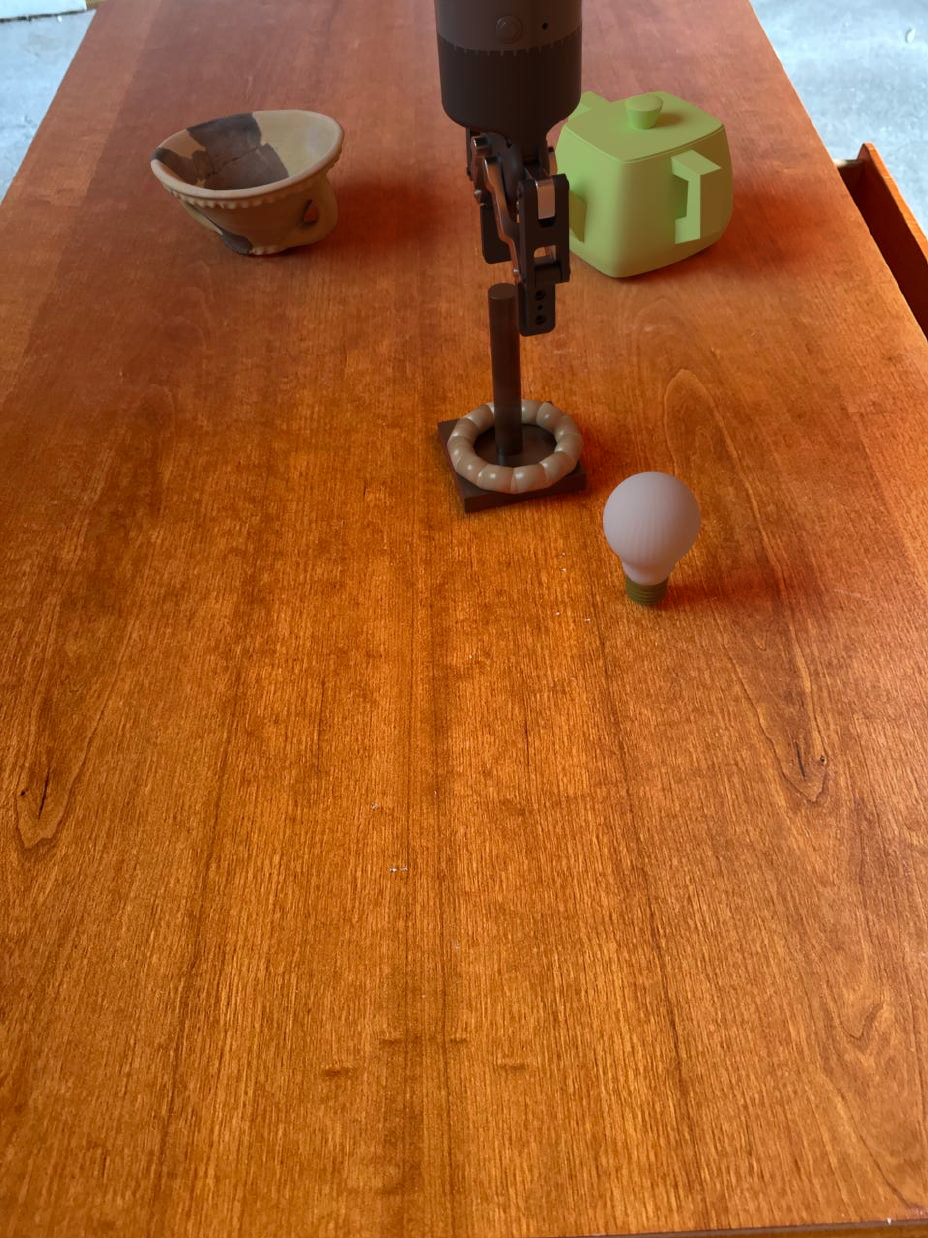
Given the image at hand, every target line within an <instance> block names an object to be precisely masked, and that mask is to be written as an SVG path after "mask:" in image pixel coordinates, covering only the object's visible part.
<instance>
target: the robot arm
mask: <svg viewBox="0 0 928 1238" xmlns="http://www.w3.org/2000/svg"><path fill="white" fill-rule="evenodd" d="M433 5H434V7H433V8H434V17H435V33H436V44H437V45H436V46H437V56H438V57H437V58H438V70H439V71H438V72H439V83H440V97H441V98H440V99H441V107H442V108H443V111H444V112H445V115H446V116H447V117H448V118H449V119H450V120H451V121H452V122H454V123H455V124H457V125H459V126H460V127H461V128H465V129H464V130H465V146H466V167H465V172H466V176H467V177H468V179H469V181H470V182H472V183H473V188H474V189H473V190H472V191H473V198H474V199H475V201H476V203H477V205H479V222H480V223H479V224H480V239H481V241H480V242H481V255H482V257H483V259H484V261H485V263H486V264H488V265H496V264H501V263H506V262H511V265H512V276H513V278H514V285H515V301H516V326H517V328H518V331H519V333H520V336H522V337H524V338H526V337H534V336H538V335H544V334H549V333H551V332H552V331H554V329H555V328H556V314H557V313H556V285H559V284H565V283H569V282H570V279H571V274H572V272H571V261H570V260H571V259H570V256H571V254H570V251H571V250H570V245H569V189H570V184H569V181H568V180H567V176H566V174H565V173H562V174H557V172H558V167H557V161H556V155H555V150H556V149H555V147H554V146H553V144H549V141H548V140H547V137H548V133H549V132H550V131H551V130H552V129H553V128H554V127H555V126H556V125H557V124H559V123H560V122H562V121H565V120H566V119H568V117H569V116H570V115H571V114H572V113H573V112H574V111H575V109H576V108H577V106H578V105H579V102H580V99H581V93H582V75H583V73H582V71H583V70H582V69H583V68H582V67H583V66H582V63H583V0H433ZM482 204H483V205H482ZM542 248H543V250H544V255H542V256H535V252H536V251H537V250H538V249H542Z"/></svg>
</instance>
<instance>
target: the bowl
mask: <svg viewBox="0 0 928 1238" xmlns="http://www.w3.org/2000/svg"><path fill="white" fill-rule="evenodd" d="M345 134H346V133H345V129H344V127H343V126H342V124H341V123H340V122H339V121H338V120H336V118H334V117H332V116H330V115H327V114H323V113H321V112H316V111H311V110H305V109H274V110H273V109H272V110H271V109H269V110H268V109H267V110H256V111H250V112H243V113H235V114H231V115H225V116H221V117H216V118H213V119H212V118H211V119H210V120H206V121H201V122H198V123H196V124H193V125H190V126H188V127H186V128H184V129H183V130H180V131H178V132H176V133H174V134H172V135H171V136H169V137H167V138H166V139H165V140H163V141H162V142H161V143H160V144H159V145H158V146H157V148H155V150H154V151H153V153H152V154H151V158H150V168H151V170H152V172H153V174H154V176H155V177H156V178H157V179H158V180H159V182H160V184H161V185H162V187H163V188H164V189H165V191H166V192H168V193H169V194H170V195H171V196H172V197H175V198H176V199H177V200H178V201H179V203H180V204H181V206H182V207H183V209H184V210H185V211H186V212H187V213H188V215H189V216H190V217H192V218H193V219H194V220H195V221H196V222H198V223H199V224H200V225H201V226H203V227H204V228H206V229H208V230H210V231H212V232H215V233H217V234H219V235H220V236H221V241H222V242H223V243H224V246H225V247H226V248H227V249H229V250H230V251H232V252H235V253H238V254H241V255H256V256H263V255H273V254H278V253H280V252H283V251H285V250H287V249H291V248H295V247H298V246H299V247H300V246H307V245H311V244H315V243H317V242H319V241H321V240H323V239H324V238H325V237H327V236H328V235H329V234H331V233H332V231H333V230H334V229H335V227H336V225H337V222H338V219H339V218H338V216H339V214H338V213H339V211H338V210H339V208H338V203H337V199H336V196H335V193H334V190H333V187H332V185H331V184H330V181H329V179H328V176H327V174H328V172H329V171H330V170H331V169H333V168H334V167H335V164H336V163H337V162H338V161H340V159H341V155H342V152H343V144H344V140H345ZM313 202H314V204H315V205H316V207H317V211H318V215H317V218H316V219H314V220H310V221H307V220H306V216H307V213H308V211H309V210H310V207H311V206H312V203H313Z"/></svg>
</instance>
